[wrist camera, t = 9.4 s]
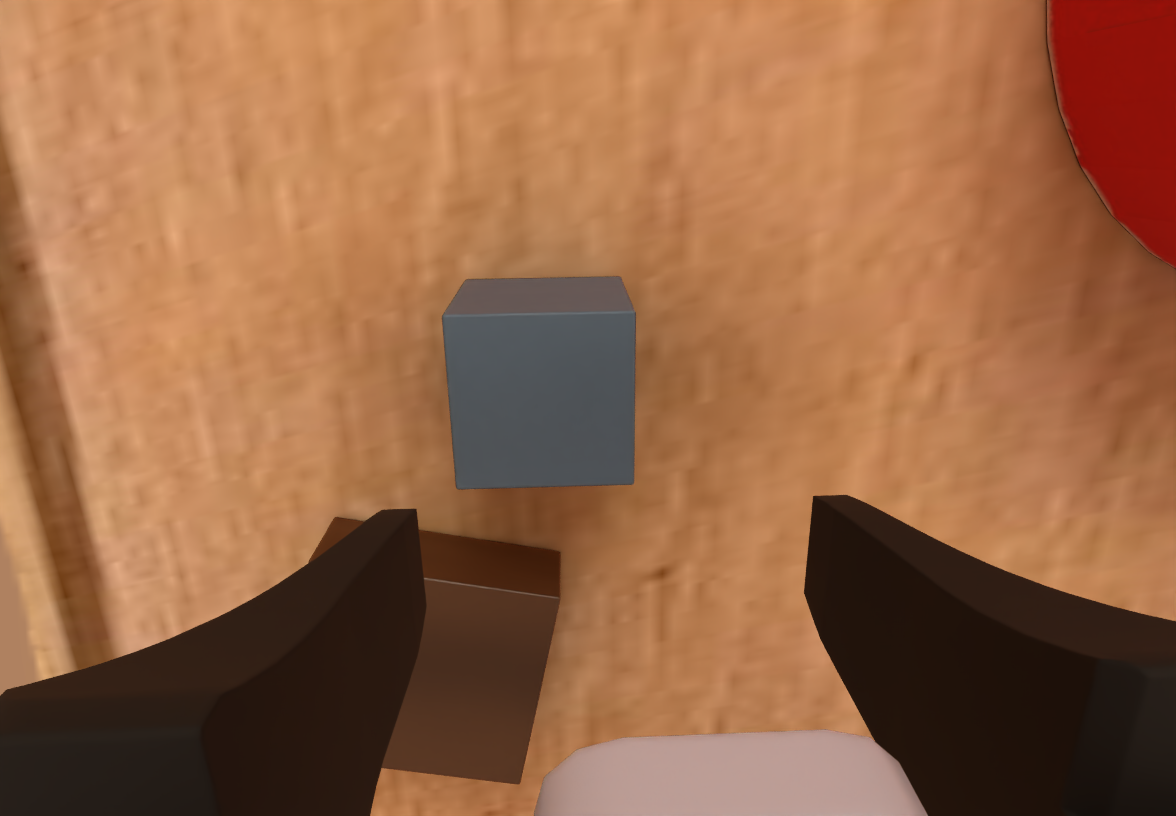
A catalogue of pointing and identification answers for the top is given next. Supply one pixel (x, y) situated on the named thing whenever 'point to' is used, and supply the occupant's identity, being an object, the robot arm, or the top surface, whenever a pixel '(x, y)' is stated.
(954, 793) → the robot arm
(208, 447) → the top surface
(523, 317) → the grey cube
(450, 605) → the walnut tile
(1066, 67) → the toy clock
